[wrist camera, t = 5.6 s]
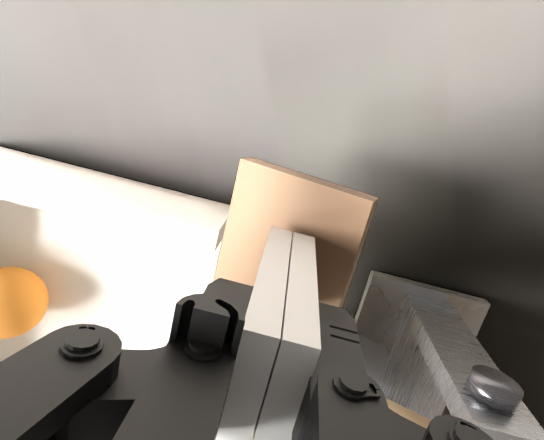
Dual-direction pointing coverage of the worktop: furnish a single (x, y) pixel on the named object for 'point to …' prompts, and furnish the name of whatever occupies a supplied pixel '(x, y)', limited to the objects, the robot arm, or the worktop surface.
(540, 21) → the worktop surface
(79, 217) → the dish
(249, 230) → the lever
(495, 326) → the worktop surface
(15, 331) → the ball
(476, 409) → the stand
